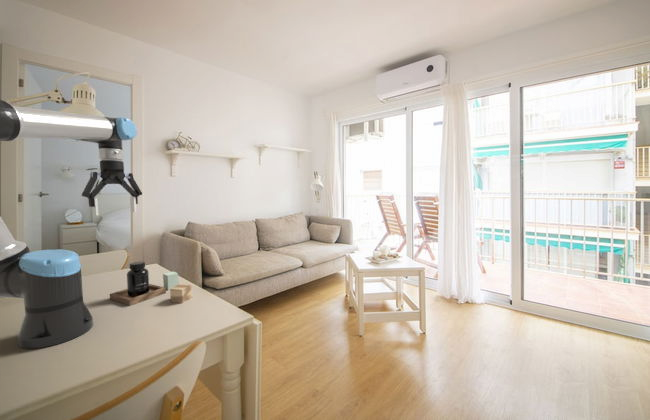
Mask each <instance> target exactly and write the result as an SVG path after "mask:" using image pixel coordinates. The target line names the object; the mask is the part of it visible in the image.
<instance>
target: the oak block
mask: <svg viewBox="0 0 650 420" xmlns="http://www.w3.org/2000/svg"><path fill="white" fill-rule="evenodd" d="M169 291H170V292H169V294H170V302H171V303H180V304H184V303H185V302H187V301H189V300H190V298H191V299H192V298H193V285H192V284H191V283H190V284H189V283H187V284H186V283H178V285H177V286H174V287H172V288H170V290H169Z"/></svg>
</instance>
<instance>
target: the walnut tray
mask: <svg viewBox="0 0 650 420" xmlns="http://www.w3.org/2000/svg"><path fill="white" fill-rule="evenodd" d="M166 293H167V289H166V288H164V286H160V285H156V284H151V283H149V293H146V294H143V295H140V296H137V297H130V296H128V289H127V288H124V289H122V290H118V291H115V292H112V293H110V294H109V300H111V301H114V302H117V303H120V304H123V305H126V306H129V307H130V306H133V305H136V304H138V303H142V302H144V301H147V300H150V299H153V298H155V297H159V296H160V295H164V294H166Z"/></svg>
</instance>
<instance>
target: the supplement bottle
mask: <svg viewBox="0 0 650 420" xmlns="http://www.w3.org/2000/svg"><path fill="white" fill-rule="evenodd" d="M149 277H150V275H149V270H148V269H147V268H146V262H145V261H135V262H130V263H129V270H128V271H127V273H126V283H127V285H126V286H127V288H126V289H128V296H130V297H137V296H140V295H143V294H146V293H149V284H150V278H149Z"/></svg>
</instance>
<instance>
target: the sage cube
mask: <svg viewBox="0 0 650 420" xmlns="http://www.w3.org/2000/svg"><path fill="white" fill-rule="evenodd" d="M162 279H163V287H164V288H166V291H170V288H172V287H174V286H177V285H179V274H178V272H176V271H169V272H165V273H162Z"/></svg>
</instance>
